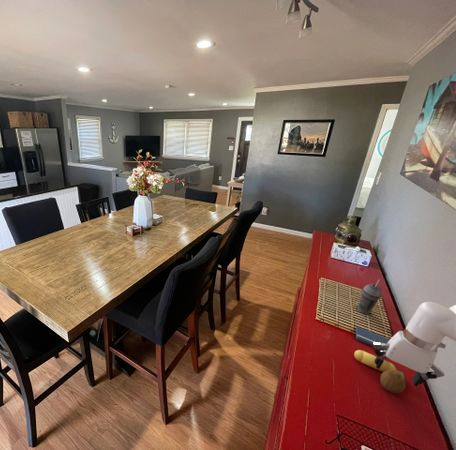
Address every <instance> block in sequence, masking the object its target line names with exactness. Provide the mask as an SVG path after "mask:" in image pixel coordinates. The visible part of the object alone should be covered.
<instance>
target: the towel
mask: <svg viewBox="0 0 456 450" xmlns="http://www.w3.org/2000/svg"><path fill="white" fill-rule="evenodd" d="M355 327H356V328H355V329H356V330H355V339H356V340H357V341H359V342H362V343H364V344H366V345H368V346H371V347H373V342H379V343H388V341H389V340H390V339H391V338H387V337H384V336H383V335H380V334H377V333H375V332H373V331H370V330H367V329H365V328H362V327H359V326H355ZM378 349H379V350H380V351H384V350H385V348H378Z"/></svg>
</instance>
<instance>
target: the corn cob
mask: <svg viewBox="0 0 456 450" xmlns="http://www.w3.org/2000/svg"><path fill="white" fill-rule="evenodd" d="M353 356H354V358H355V359H356V361H358V362H359V363H361V364H363V365H366V366H368V367H370V368H372V369H374V370H377V371H379V372H381V373H383V372H385V371H387V370H393V371H396V372H398V373H399V374H401V375H402V376H403V378H404V379H405V374H404V372H402V371H400V370H398V369H397V368H396V366H395V365H394V363H391V362H390V361H387V360H386V359H383V360H384V362H383V364H382V365H381V367H380V368H379V369H378V368H376V364H375V363H374V361H375V359H376V357H377V355H374V354H371V353H369V352H367V351H365V350H362V349H357V350H355V351H354V354H353Z"/></svg>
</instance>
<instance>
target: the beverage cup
mask: <svg viewBox="0 0 456 450" xmlns="http://www.w3.org/2000/svg"><path fill="white" fill-rule="evenodd" d="M380 281H381V279H380V278H378V279H377V282H376V284H371V283H369V284H367V285H365V286H364V287H363V288H362V293H361V296H360V300H359V303H358V305H357V310H358V312H360V313H361V314H365V315H368V314H370V313H371V311H372V310H373V308H374V307H375V306H376V304H377V302H378V301H379V300H381V298H382V297H383V290H382V289H381V287H380V286H378V285H379V283H380Z"/></svg>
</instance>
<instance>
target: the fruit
mask: <svg viewBox="0 0 456 450" xmlns="http://www.w3.org/2000/svg"><path fill="white" fill-rule="evenodd" d="M379 381H380V385H381V386H382V387H383V388H384V389H385V390H386V391H388V392H389V393H392V394H400V393H403V391H404V390H405V389H406V387H407V383H406V380H405V377H404V378H403V376H402V375H401V374H399V373H398V372H396V371H393V370H387V371H385V372H381V374H380V379H379Z"/></svg>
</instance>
